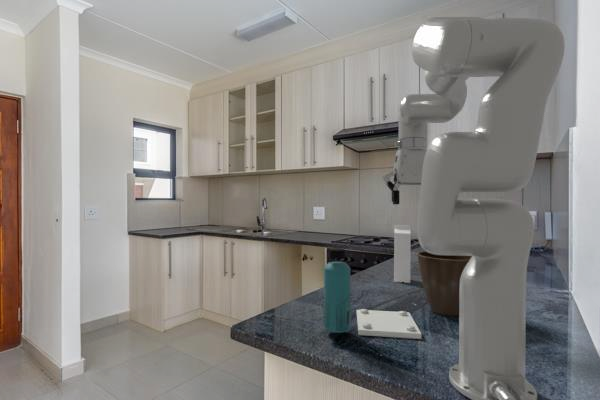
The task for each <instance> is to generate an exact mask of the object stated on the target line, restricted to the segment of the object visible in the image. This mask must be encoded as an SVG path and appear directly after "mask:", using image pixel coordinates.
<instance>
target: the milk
mask: <svg viewBox="0 0 600 400" xmlns="http://www.w3.org/2000/svg"><path fill="white" fill-rule="evenodd" d="M393 232H394V233H393V235H394V236H393V238H394V240H393V243H394V245H393V246H394V247H393V249H394V250H393V253H394V254H393V258H394V259H393V282H394V283H402V282H404V283H406V284H411V256H412V255H411V252H412V251H411V249H412V248H411V237H412V236H411V233H412V232H411V224H402V223H401V224H398V223H397V224H394V231H393ZM404 283H403V284H404Z"/></svg>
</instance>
